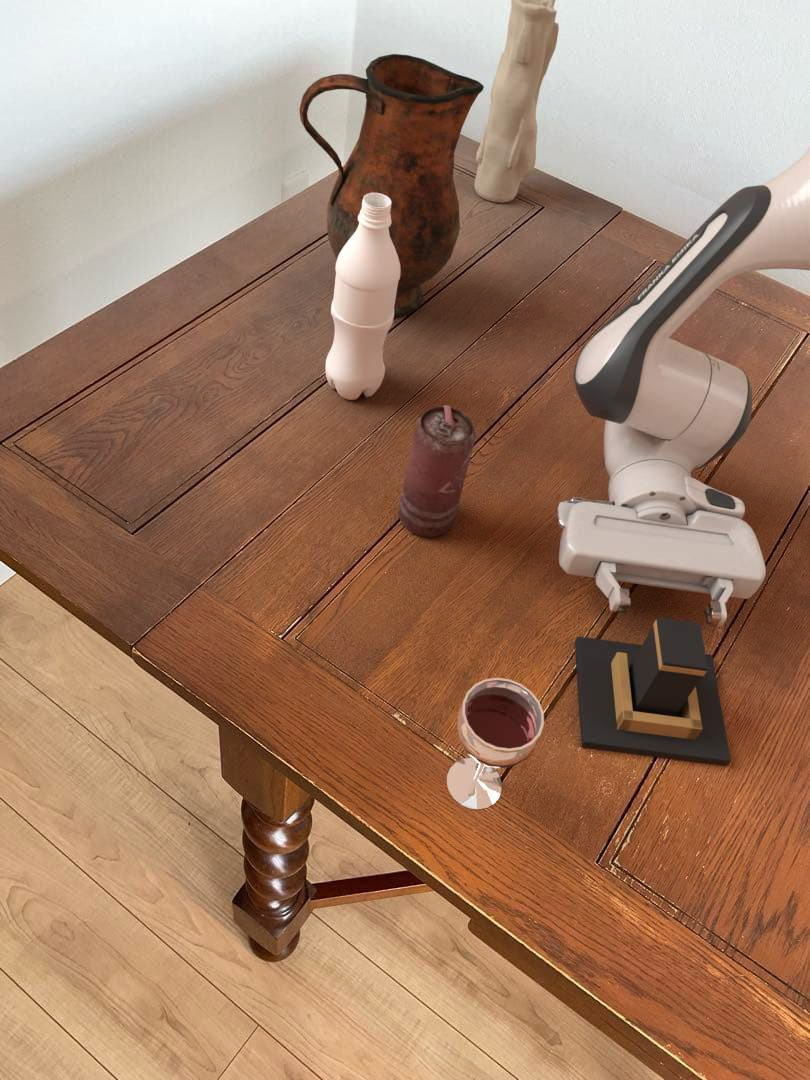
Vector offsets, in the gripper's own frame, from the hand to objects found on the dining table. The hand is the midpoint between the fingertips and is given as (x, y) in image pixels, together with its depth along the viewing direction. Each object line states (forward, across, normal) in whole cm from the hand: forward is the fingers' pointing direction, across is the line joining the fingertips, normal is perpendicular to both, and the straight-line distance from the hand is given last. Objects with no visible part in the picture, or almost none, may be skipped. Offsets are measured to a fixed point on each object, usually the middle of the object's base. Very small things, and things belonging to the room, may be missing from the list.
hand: (668, 615), depth 92 cm
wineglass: (+16, -17, +8) cm, 25 cm away
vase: (-87, -15, +8) cm, 89 cm away
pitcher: (-54, -33, +8) cm, 64 cm away
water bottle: (-35, -33, +8) cm, 49 cm away
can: (-15, -23, +8) cm, 29 cm away
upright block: (+5, 0, +6) cm, 8 cm away
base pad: (+5, 0, +8) cm, 9 cm away
